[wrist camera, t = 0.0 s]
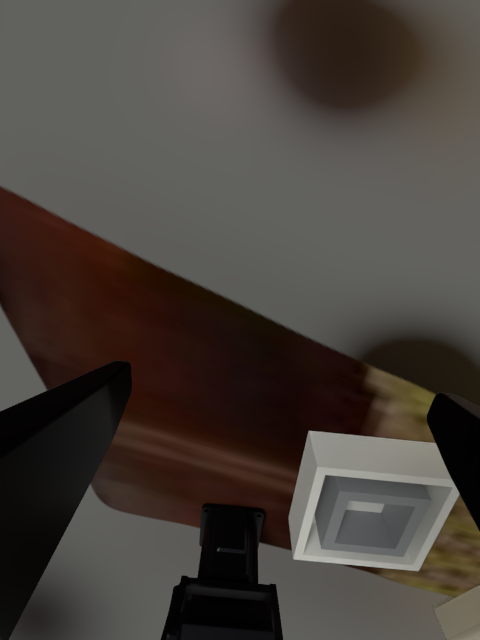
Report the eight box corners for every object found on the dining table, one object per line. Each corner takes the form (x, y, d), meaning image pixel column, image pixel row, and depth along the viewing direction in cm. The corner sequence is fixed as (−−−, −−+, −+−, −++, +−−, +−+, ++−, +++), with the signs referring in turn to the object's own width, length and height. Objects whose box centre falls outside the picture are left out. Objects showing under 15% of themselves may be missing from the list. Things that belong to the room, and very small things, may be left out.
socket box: (399, 528, 33) (419, 573, 29) (288, 517, 33) (293, 561, 29) (438, 443, 28) (468, 483, 24) (308, 430, 28) (317, 468, 24)
